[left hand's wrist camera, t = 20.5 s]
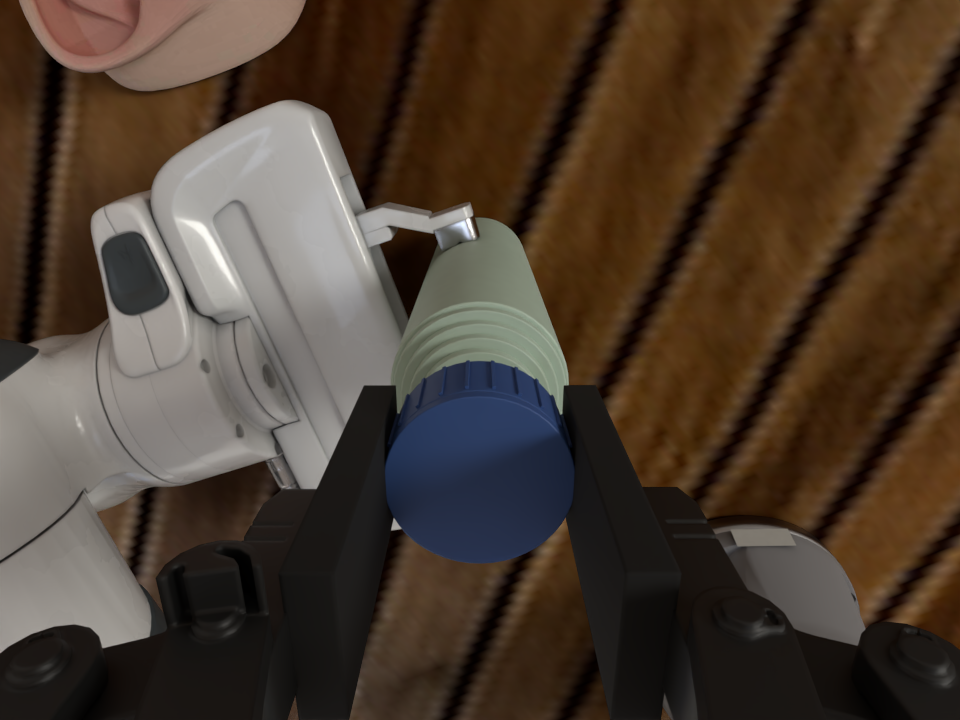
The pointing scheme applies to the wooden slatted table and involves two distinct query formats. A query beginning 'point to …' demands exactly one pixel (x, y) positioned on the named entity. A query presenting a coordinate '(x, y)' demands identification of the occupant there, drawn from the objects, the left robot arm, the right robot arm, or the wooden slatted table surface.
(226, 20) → the anatomical model
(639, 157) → the wooden slatted table surface
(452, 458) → the cap
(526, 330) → the bottle
